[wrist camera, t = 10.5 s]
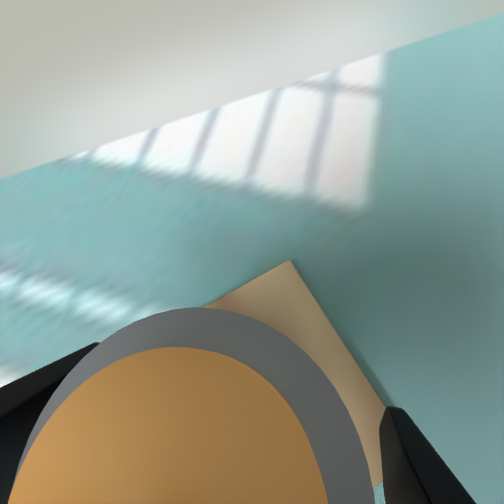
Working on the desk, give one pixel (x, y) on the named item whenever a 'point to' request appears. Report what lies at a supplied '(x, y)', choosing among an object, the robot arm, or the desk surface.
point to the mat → (313, 346)
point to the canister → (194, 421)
